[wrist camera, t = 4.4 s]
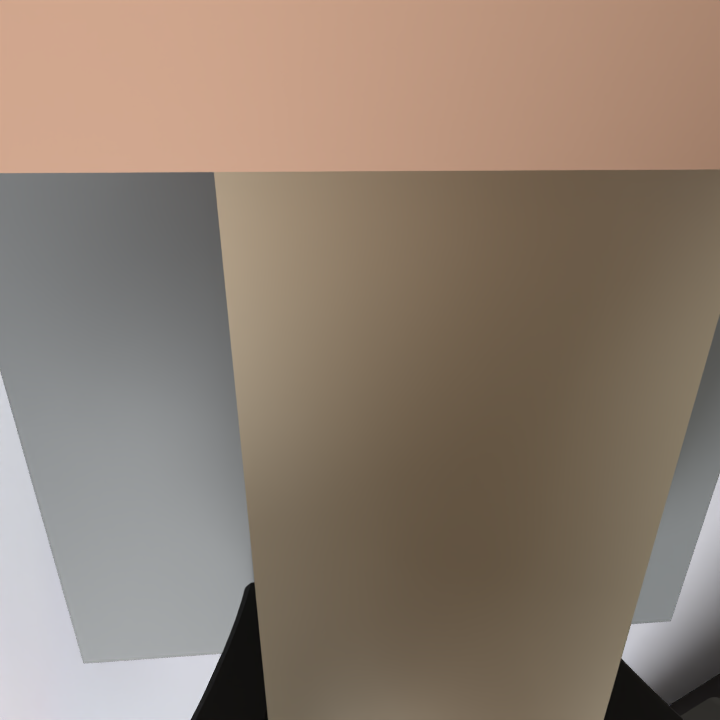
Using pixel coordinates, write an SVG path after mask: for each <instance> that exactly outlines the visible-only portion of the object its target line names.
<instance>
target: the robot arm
mask: <svg viewBox="0 0 720 720" xmlns="http://www.w3.org/2000/svg"><path fill="white" fill-rule="evenodd" d="M191 720H268V714H267V704H266V694H265V683H264V673H263V663H262V653H261V643H260V633H259V623H258V613H257V603H256V592H255V582H252V583H250V584H249V585H247V586H246V587H245V589H244V593H243V597H242V600H241V604H240V607H239V610H238V613H237V616H236V619H235V622H234V624H233V627H232V630H231V632H230V635H229V637H228V640H227V642H226V645H225V647H224V650H223V652H222V654H221V657H220V659H219V661H218V663H217V666H216V668H215V670H214V672H213V675H212V677H211V679H210V681H209V683H208V686H207V688H206V690H205V692H204V694H203V696H202V699H201V701H200V703H199V705H198V707H197V709H196V711H195V712H194V714H193V716H192V718H191ZM604 720H684V719H683V718H682V717H681V716H680V715H678V714H677V713H676V712H675V711H674V710H673V709H672V708H671V707H670V706H669V705H668V704H667V703H666V702H665V701H664V700H663V699H662V698H661V697H659V696H658V695H657V694H656V693H655V692H654V691H653V690H652V689H651V688H650V687H649V686H648V685H647V684H646V683H645V682H644V681H643V680H642V679H641V678H640V677H639V676H638V675H637V674H636V673H635V672H634V671H633V670H632V669H631V668H630V667H629V666H628V665H627V664H626V663H625V662H624V661H623V660H622V659H621V661H620V664H619V668H618V671H617V675H616V678H615V682H614V685H613V689H612V692H611V696H610V699H609V703H608V706H607V710H606V713H605V717H604Z"/></svg>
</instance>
